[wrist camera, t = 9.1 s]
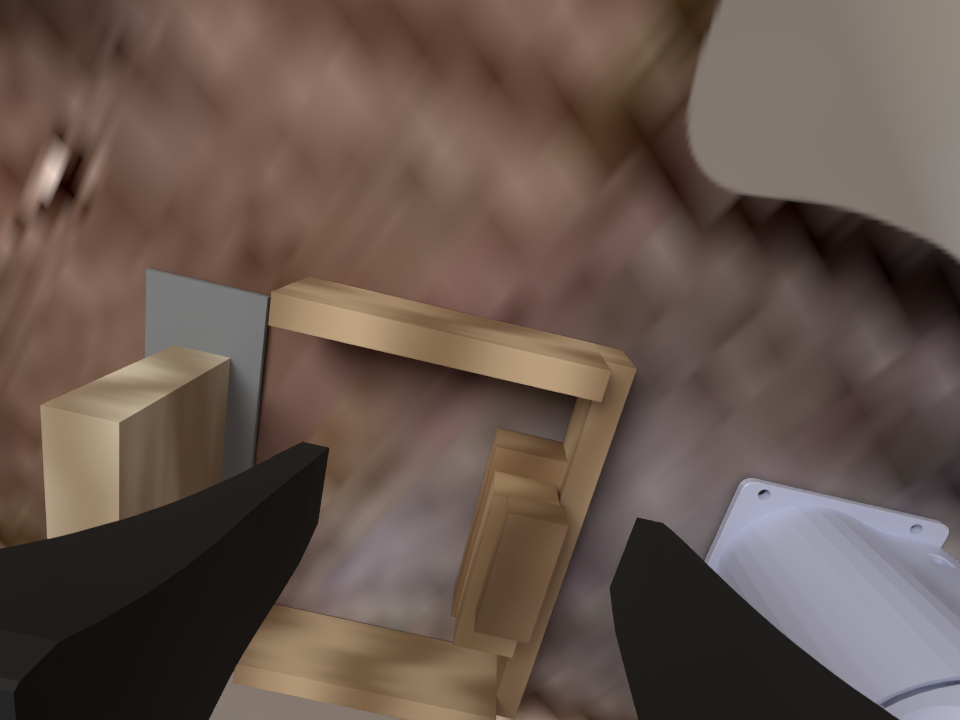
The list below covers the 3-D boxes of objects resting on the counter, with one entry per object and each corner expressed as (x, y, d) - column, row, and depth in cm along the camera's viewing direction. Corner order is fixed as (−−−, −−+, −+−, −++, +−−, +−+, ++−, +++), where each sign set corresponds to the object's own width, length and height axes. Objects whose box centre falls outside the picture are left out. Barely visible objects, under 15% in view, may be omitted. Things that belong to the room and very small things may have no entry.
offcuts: (562, 442, 22) (578, 505, 18) (513, 600, 25) (515, 690, 20) (497, 427, 22) (495, 487, 18) (454, 587, 25) (443, 674, 20)
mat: (270, 296, 21) (267, 297, 20) (240, 597, 26) (238, 600, 25) (150, 268, 21) (146, 269, 20) (144, 576, 26) (140, 579, 25)
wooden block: (230, 357, 21) (119, 422, 15) (216, 547, 24) (118, 665, 18) (174, 345, 21) (39, 405, 15) (167, 536, 24) (53, 651, 18)
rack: (622, 350, 21) (644, 379, 17) (513, 674, 26) (515, 742, 23) (309, 276, 20) (271, 291, 17) (267, 620, 26) (232, 682, 23)
